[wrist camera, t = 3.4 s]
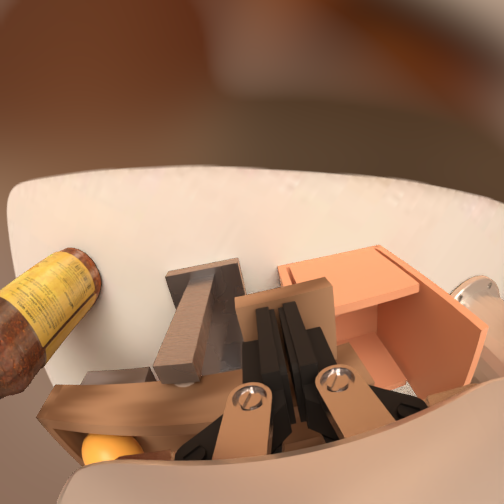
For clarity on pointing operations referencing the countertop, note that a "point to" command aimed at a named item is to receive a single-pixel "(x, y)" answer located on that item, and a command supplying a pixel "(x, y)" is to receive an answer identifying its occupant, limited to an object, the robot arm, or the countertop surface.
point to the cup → (397, 320)
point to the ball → (108, 447)
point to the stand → (202, 323)
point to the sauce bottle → (42, 314)
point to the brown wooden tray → (186, 386)
